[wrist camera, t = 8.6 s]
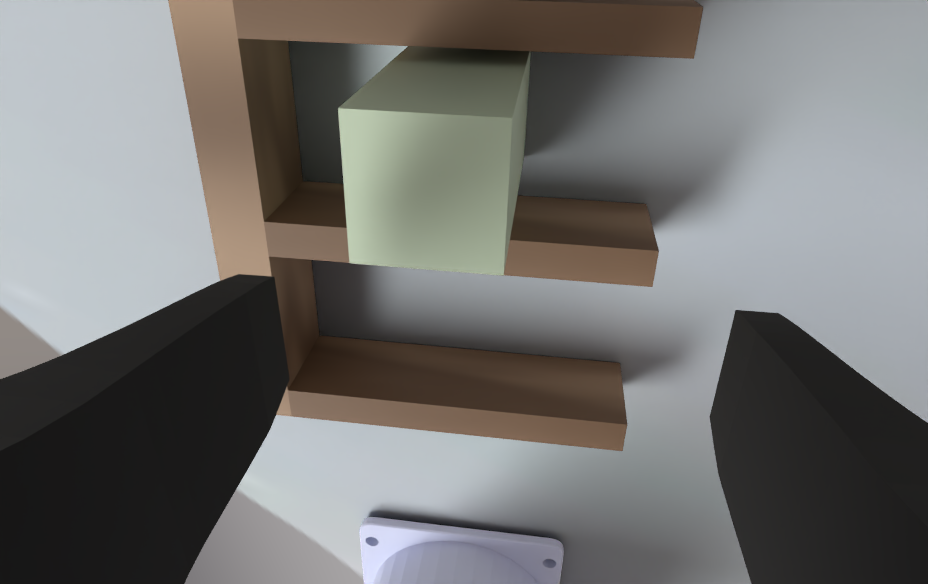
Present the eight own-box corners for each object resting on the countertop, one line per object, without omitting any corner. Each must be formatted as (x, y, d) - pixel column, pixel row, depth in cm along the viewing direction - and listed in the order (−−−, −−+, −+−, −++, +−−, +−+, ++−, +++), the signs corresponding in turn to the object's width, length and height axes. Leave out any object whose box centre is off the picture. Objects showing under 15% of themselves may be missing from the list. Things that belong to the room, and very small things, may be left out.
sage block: (523, 157, 19) (503, 275, 13) (418, 150, 19) (349, 263, 13) (531, 44, 17) (512, 117, 11) (416, 39, 18) (337, 108, 12)
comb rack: (615, 387, 22) (622, 451, 20) (280, 355, 23) (244, 411, 21) (731, -310, 13) (770, -361, 11) (184, -303, 15) (103, -348, 12)
